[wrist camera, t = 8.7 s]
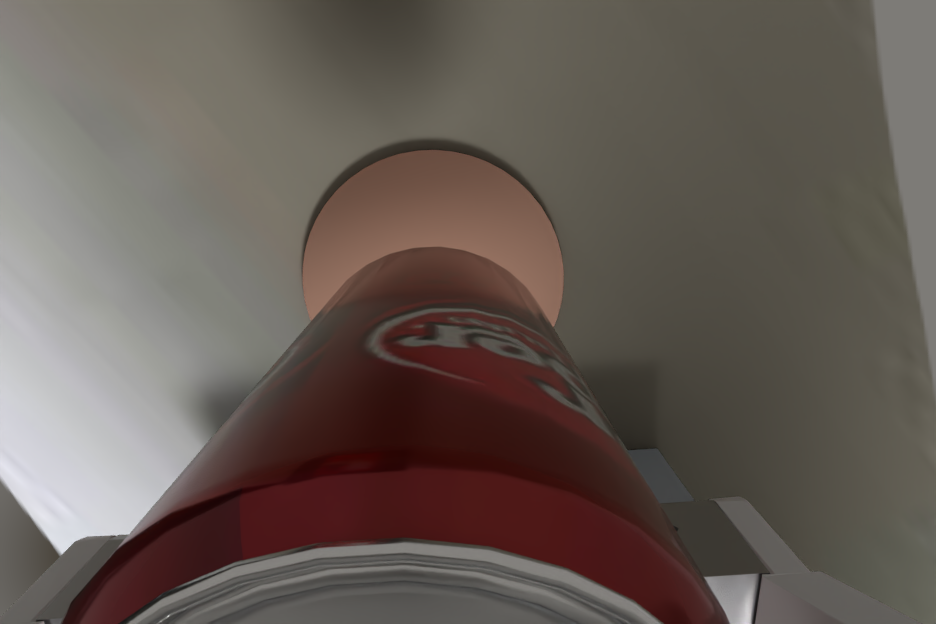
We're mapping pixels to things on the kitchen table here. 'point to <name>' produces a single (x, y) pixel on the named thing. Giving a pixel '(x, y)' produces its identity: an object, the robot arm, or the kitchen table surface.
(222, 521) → the soda can
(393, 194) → the terracotta mat
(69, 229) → the kitchen table surface
